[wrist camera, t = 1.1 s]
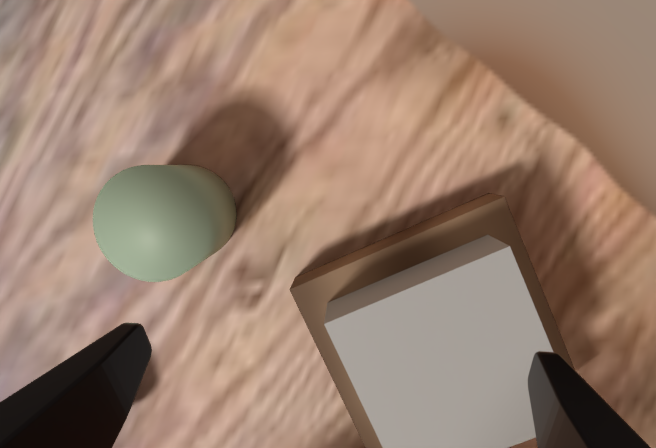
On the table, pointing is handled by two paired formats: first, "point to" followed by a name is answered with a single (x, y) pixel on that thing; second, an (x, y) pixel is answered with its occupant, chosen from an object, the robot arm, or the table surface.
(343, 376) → the walnut base slab
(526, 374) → the grey top slab
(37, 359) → the table surface
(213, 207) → the green cylinder
